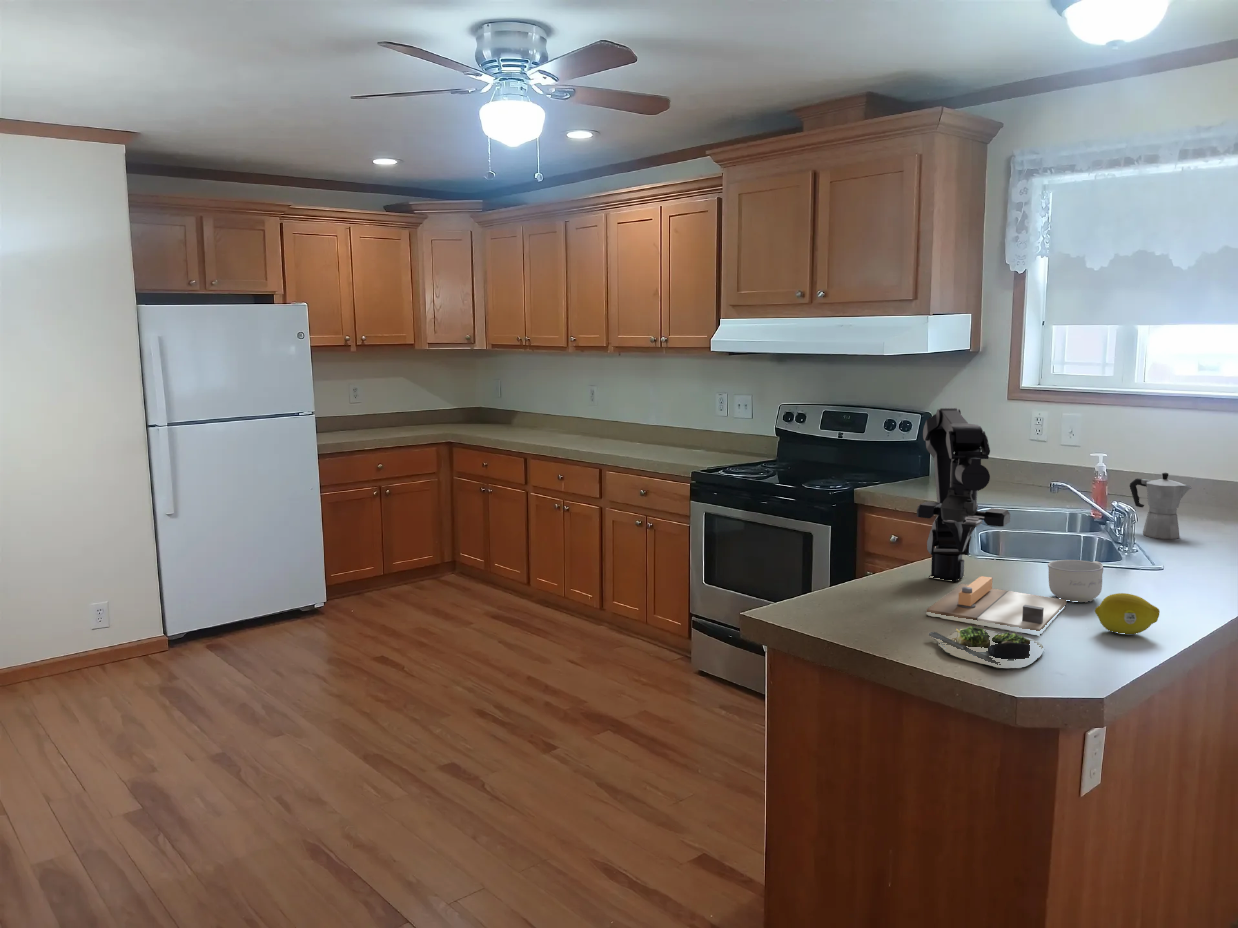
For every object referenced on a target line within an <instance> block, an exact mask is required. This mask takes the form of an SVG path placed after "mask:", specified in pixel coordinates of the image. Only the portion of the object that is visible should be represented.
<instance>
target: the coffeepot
mask: <svg viewBox="0 0 1238 928" xmlns="http://www.w3.org/2000/svg"><path fill="white" fill-rule="evenodd" d="M1169 474H1170V473H1167V472H1162V473H1161V476H1162V478H1160V479H1153V480H1151V479H1144V478H1135V479H1134V480H1133V481H1131V482H1130V483H1129V490H1130V492H1131V495H1132V498H1133V503H1134V506H1135V507H1137V508H1142V509H1143V508H1144V506H1145V504H1144V503H1140V496H1139V492H1138V488H1137V486H1142V487H1146V494H1147V504H1148V507H1149V508H1148V509H1149V510H1148V511H1147V515H1146V518H1145V522H1144V526H1143V529H1142V533H1143V536H1144V537H1148V538H1152V539H1153V538H1154V539H1161V540H1175V539H1178V538H1180V537H1181V536H1180V529H1179V521H1178V520H1179V519H1178V514H1177V513H1178V512H1177V511H1178V508H1179V506H1180V504H1181V499H1182V498H1183V497H1184V496H1185V495H1186V494H1187V492H1188V491H1190V490H1192V489H1193V488H1192V486H1190V485H1188V484H1183V483H1182V482H1179V481H1175V480H1172V479H1168V477H1169Z"/></svg>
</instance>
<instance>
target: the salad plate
mask: <svg viewBox="0 0 1238 928" xmlns="http://www.w3.org/2000/svg"><path fill="white" fill-rule="evenodd" d="M959 630H960V631H959ZM984 630H986V631H990V632H995V631H994V630H989V629H985V628H984V629H983V628H982V627H981V628H980V627H976V626H974V625H970V626H968V627H965V628H960V629H958V628H957V627H956V628H955V631H953V632H957V637H956V638H952V639H949V638H947V636H945V635H942V634H941V633H938V632H936V631H930V632H928V636H929V637H930V636H931V637H930V638H932V637H933V638H936V639H940V640H942V641H943V642H940V643H941V644H940V645H942V646H941V647H944V649H947V648H945V646H943V645H945V644H942V643H947V644H946V645H951V646H953V647H956V648H957V649H961V650H965V651H966V652H968V653H969V654H972V655H973V656H977V657H978V658H981V659H984V660H985V661H988V662H991V663H995V664H997V665H998V663H1000V662H996V661H995V660H992V659H993V658H991V657H989V656H993V657H995V658H1001V659H1008V660H1007V661H1014V659H1015V660H1016V659H1025V658H1029V656H1030V654H1029V651H1030V645H1029V644H1030V641H1034V643H1037V645H1040V646H1039V647H1041V649H1042V648H1044V646H1043V645H1042V643H1040V642H1039V641H1036V640H1035V639H1034V638H1033V639H1032V638H1030V637H1024V636H1023V635H1019V634H1017V633H1015V632H1012V633H1009V632H1010V631H1008V632H1004V633H1002V634H1000V635H999V634H997V635H995V636H994V637H993V638H992V641H993V642H995V643H998V644H995V645H991V646H990V640H989V637H990V636H989V635H988V633H987V632H986V631H984ZM933 638H932V639H933ZM953 639H954V640H953ZM1029 639H1030V640H1029ZM955 640H956V642H955ZM966 646H968V647H981V648H982V647H984V648H988V651H986V652H976V651H973V650H971V649H969V648H967V647H966ZM999 665H1001V664H999Z"/></svg>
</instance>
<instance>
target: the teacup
mask: <svg viewBox="0 0 1238 928" xmlns="http://www.w3.org/2000/svg"><path fill="white" fill-rule="evenodd" d="M1047 567H1048V568H1047V569H1048V586H1049V587H1048V588H1049V590H1050V592H1051V593H1052V594H1053V595H1054V596H1056V598H1057V597H1058V598H1057V599H1059V598H1061V599H1064V600H1070V601H1078V602H1085V603H1089V602H1088V601H1090V602H1092V601H1093V600H1094V599H1096V598H1098V597H1099V596H1100V594H1101V593H1102V589H1103V575H1104V574H1103V573H1104V566H1103V563H1101V561H1096V560H1094V561H1089V560H1079V559H1060V560H1053V561H1050V562H1048V563H1047Z"/></svg>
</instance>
